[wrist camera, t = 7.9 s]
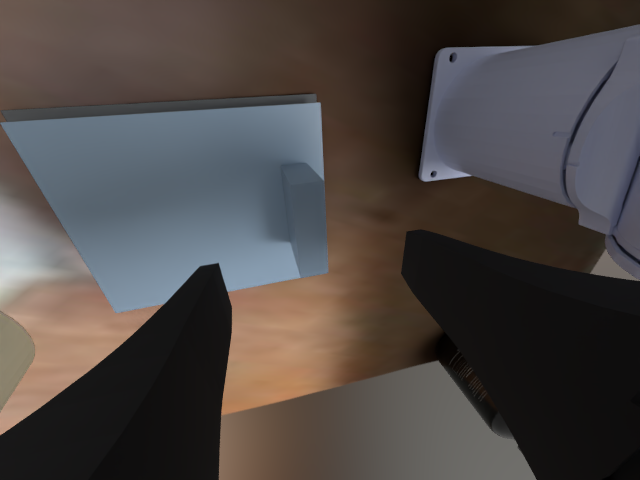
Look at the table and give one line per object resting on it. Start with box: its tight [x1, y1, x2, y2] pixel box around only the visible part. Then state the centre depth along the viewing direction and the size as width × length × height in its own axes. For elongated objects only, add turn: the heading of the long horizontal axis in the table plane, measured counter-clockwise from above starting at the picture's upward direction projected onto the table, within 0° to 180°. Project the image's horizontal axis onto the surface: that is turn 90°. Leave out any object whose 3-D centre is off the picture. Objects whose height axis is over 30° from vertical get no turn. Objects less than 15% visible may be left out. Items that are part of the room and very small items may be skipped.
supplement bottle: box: [436, 334, 523, 454], centre depth 26 cm, size 7×7×12 cm
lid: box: [0, 103, 328, 313], centre depth 14 cm, size 14×11×6 cm
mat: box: [1, 94, 317, 122], centre depth 16 cm, size 15×12×1 cm
